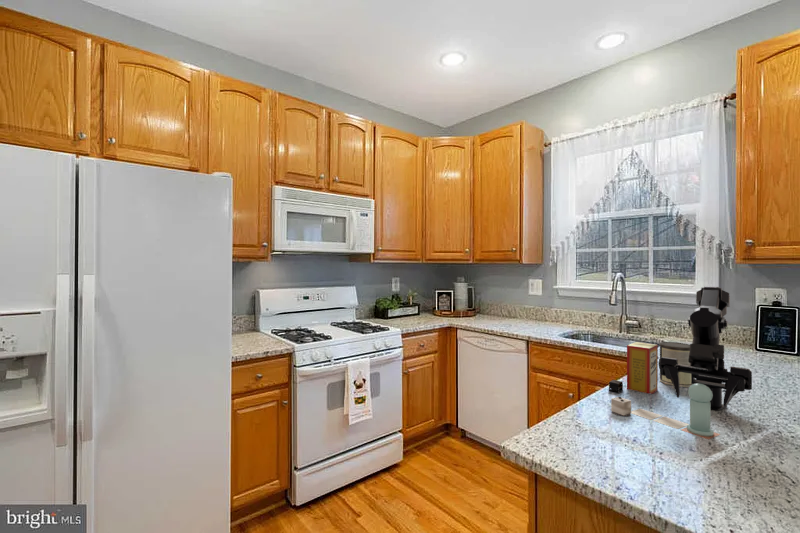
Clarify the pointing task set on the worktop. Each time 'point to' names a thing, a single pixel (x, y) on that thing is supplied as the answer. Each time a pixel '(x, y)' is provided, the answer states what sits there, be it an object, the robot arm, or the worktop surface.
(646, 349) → the baking soda box
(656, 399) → the worktop surface
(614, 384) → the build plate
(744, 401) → the worktop surface
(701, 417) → the pawn
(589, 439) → the worktop surface
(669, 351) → the coffee can
